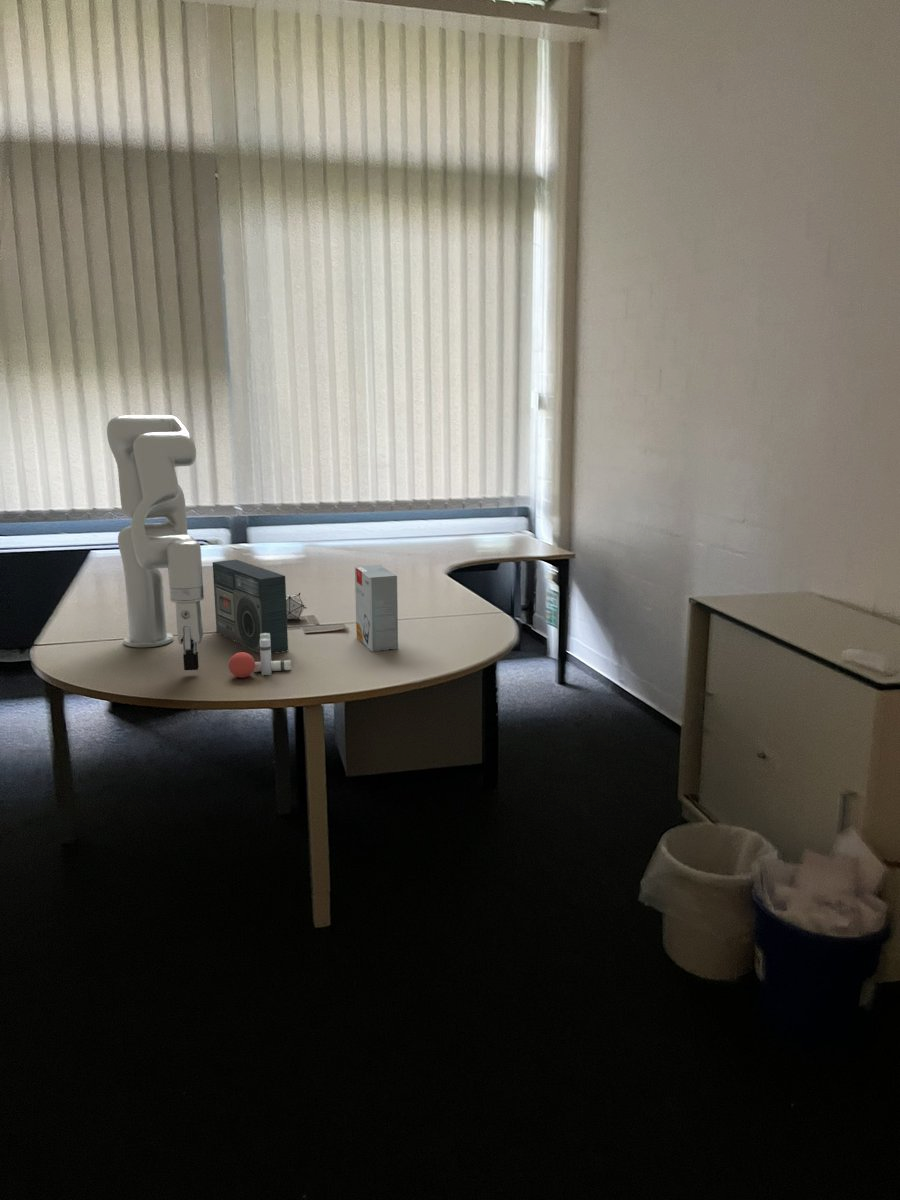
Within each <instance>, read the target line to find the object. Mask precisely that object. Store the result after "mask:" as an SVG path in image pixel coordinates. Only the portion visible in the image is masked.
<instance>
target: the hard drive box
mask: <svg viewBox="0 0 900 1200" xmlns="http://www.w3.org/2000/svg"><path fill="white" fill-rule="evenodd" d="M354 582H355V583H354V586H355V588H354V590H355V591H354V592H355V593H354V594H355V625H356V626H355V627H356V629H355V631H356V637H357V638H358V640H359V641H360V642H361V643H362V644H363V645H364V646H365V647H366V648H367V649H368V648H369V649H368V650H369V651H370V650H371V651H375V652H381V651H380V650H384V651H390V650H389V649H393V650H398V649H399V632H398V631H399V628H398V627H399V626H398V625H399V624H398V623H399V622H398V619H399V617H398V616H399V615H398V576H397V574H395V573H394V572H392V571H390V570H389V569H388V568H386V567H384V566H382V565H381V564H371V565H357V566H354ZM371 651H370V652H371Z"/></svg>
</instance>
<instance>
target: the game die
mask: <svg viewBox="0 0 900 1200" xmlns="http://www.w3.org/2000/svg"><path fill="white" fill-rule="evenodd" d="M300 595H301V592H299V593H298V594H286V609H287V620H298V621H300V622H301V618H300V617H301V616H302V614H303V611H304V609H305V610H306V609H307V607H306V605H305V604H304V603H303V601H302V599H301V597H300Z"/></svg>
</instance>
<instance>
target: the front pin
mask: <svg viewBox="0 0 900 1200" xmlns="http://www.w3.org/2000/svg"><path fill="white" fill-rule="evenodd" d="M291 665H292V662H291V659H285V660H284V659H280V660H271V671H272V672H277V671H278V672H280V671H281V672H284V670H285V671H292V666H291ZM254 672H255V673H260V672H261V661H255V669H254Z"/></svg>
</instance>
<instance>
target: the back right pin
mask: <svg viewBox="0 0 900 1200" xmlns="http://www.w3.org/2000/svg"><path fill="white" fill-rule="evenodd" d="M259 654H260V662H261V673H260V674H261V676H264V675H269V676H271V675H272V674H273V673H272V672H273V671H271V661H272V654H271V645H270V639H268V638H264V639H260V653H259Z"/></svg>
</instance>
